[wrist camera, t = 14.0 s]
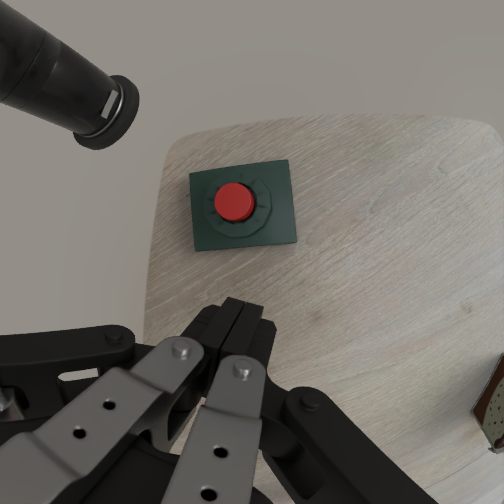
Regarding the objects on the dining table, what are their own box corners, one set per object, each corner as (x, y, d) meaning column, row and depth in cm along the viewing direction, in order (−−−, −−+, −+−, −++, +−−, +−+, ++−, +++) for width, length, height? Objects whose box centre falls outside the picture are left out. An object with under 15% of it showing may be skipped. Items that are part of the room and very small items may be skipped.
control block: (202, 250, 30) (188, 252, 26) (196, 177, 30) (182, 169, 26) (296, 242, 28) (296, 242, 24) (288, 165, 28) (287, 153, 24)
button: (221, 222, 26) (215, 221, 24) (218, 188, 26) (213, 185, 24) (256, 219, 25) (252, 217, 23) (252, 184, 25) (249, 180, 23)
